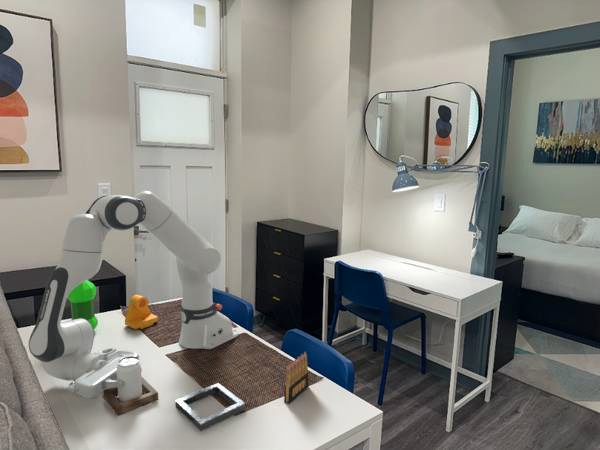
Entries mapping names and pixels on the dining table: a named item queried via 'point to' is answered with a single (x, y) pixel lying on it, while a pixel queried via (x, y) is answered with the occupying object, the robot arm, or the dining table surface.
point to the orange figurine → (139, 313)
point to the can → (129, 378)
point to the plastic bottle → (83, 302)
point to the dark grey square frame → (215, 418)
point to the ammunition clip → (296, 378)
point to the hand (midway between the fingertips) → (131, 377)
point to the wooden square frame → (133, 404)
